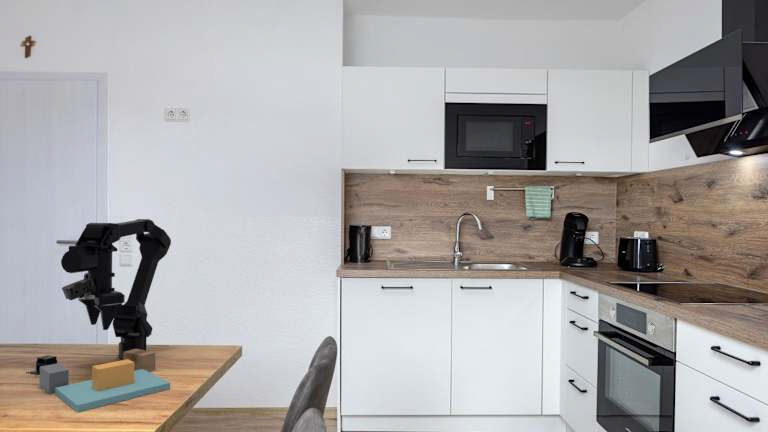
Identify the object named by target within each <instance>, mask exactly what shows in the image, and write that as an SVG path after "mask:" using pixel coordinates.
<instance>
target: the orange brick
mask: <svg viewBox="0 0 768 432" xmlns="http://www.w3.org/2000/svg"><path fill="white" fill-rule="evenodd" d="M91 367H92V368H91V380H92V388H94V389H95V390H97V391H102V390H106V389H111V388H115V387H119V386H124V385H128V384H132V383H134V362H133V361H131V360H129V359H126V360H123V359H122V360H121V359H120V360H117V361H111V362H107V363H102V364H97V365H92V366H91Z"/></svg>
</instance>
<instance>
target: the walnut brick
mask: <svg viewBox="0 0 768 432" xmlns="http://www.w3.org/2000/svg"><path fill="white" fill-rule="evenodd" d="M126 359H129V360H131V361H133V362H134V371H136V370H140V369H144V370H146V371H148V372H150V373H151V372H154V371H156V352H155V351H150V350H147V349H146V350H141V349H133V350H129V351H125V352H123V359H122V360H126Z"/></svg>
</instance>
